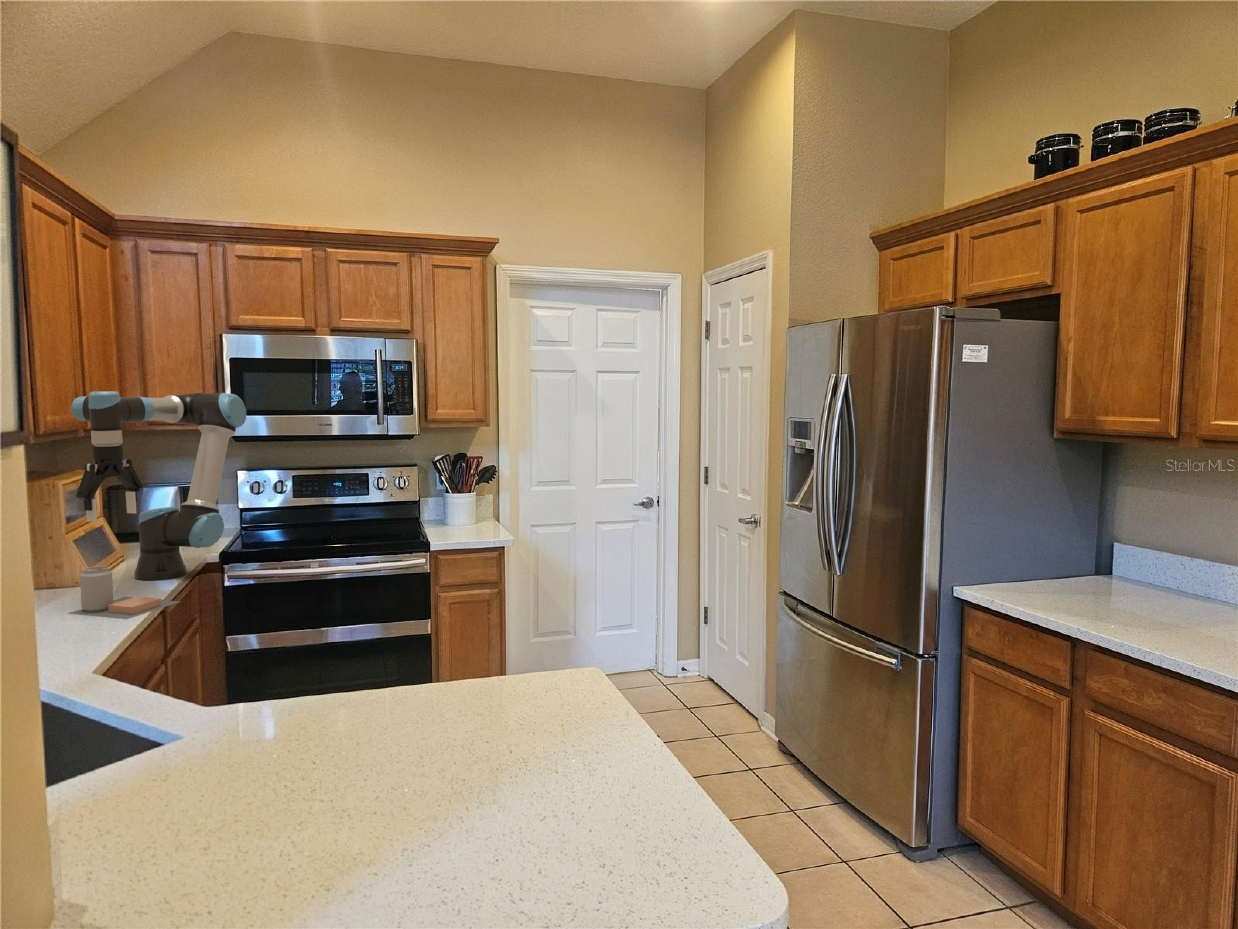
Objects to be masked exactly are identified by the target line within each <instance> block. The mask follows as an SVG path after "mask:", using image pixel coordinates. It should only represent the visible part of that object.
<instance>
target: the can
mask: <svg viewBox="0 0 1238 929" xmlns="http://www.w3.org/2000/svg"><path fill="white" fill-rule="evenodd" d="M79 576H80V579H79V580H80V599H81V603H80V604H81V609H83V610H85V611H86V612H100V611H105V610H108V605H110V604H113V600H114V585H113V584H114V583H113V571H111V570H110V566H107V565H97V566H96V565H95V566H89V567H85V568H83V569H82V572H81V573H80V575H79Z"/></svg>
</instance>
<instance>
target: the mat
mask: <svg viewBox="0 0 1238 929" xmlns="http://www.w3.org/2000/svg"><path fill="white" fill-rule="evenodd" d="M131 598H134V597H133V596H132V597H131V596H130V597H129V596H124V597H119V598H117V599H113V603H117V602H120V601H124V600H127V599H131ZM178 603H180V601H178V600H177V601H175V600H163V599H161V605H160V606H158V607H155V608H152V609H148V610H145V611H142V612H139V613H136V614H132V615H131V614H121V613H110V612H108V610H105V611H100V612H86V611H85V610H83V609H82V608H81V609H76V610H73V611H70V612H67V613H66V614H68V615H78V616H89V617H90V616H91V617H98V618H99V617H100V618H108V619H109V618H110V619H121V620H128V619H131V618H132V619H133V618H135V617H138V616H141V615H144V614H147V613H151V612H154V611H157V610H159V609H160V610H161V609H164V608H167V607H168V606H170V607H171V606H172V605H175V604H178Z"/></svg>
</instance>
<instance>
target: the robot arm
mask: <svg viewBox="0 0 1238 929" xmlns="http://www.w3.org/2000/svg"><path fill="white" fill-rule="evenodd" d="M70 409H71V414H72V416H73V417H74V418H75V419H76V420H78V421H81V422H82V421H83V422H89V423H90V436H91V444H92V447H91V451H92V452H91V453H92V454H91V455H92V458H93V459H94V463H85V464H84V467H83V468H84V471H83V475H82V478H81V480H80V484H79V486H78V489H77V492H76V494H75V498H79V499H81V500H83V506H84V508H83V509H84V511H86V512H85V514H86V522H89V523H97V522H98V513H97V499H96V498H94V497H95V495H96V493H97V492H98V490H99V488H100V487H101V485H102V484H103V481H105V480H106V479H107V478H112V477H116V479H117V480H118V481H119V482H120V483H121V484H122V485H123V486H124V487H125V489H126V490H127V491H125V501H126V502H125V504H126V506H125V507H126V513H127V514H137V501H138V496H137V495H138V494H137V492H140V490H141V489H142V488H143V484H142V482H141V480H140V478H139V476H138V474H137V472H136V470H135V469H134V467H133V461H132V459H131V458H124V445H122V444H123V428H122V427H123V426H122V425H123V424H126V423H127V424H128V423H142V422H147V421H164V422H166V423H168V424H182V425H188V426H194V427H195V426H196V427H197V429H198V430H199V431H200V433H201V435H200V441H199V443H198V444H199V445H198V449H197V454H196V459H195V463H194V468H193V472H192V477H191V482H190V486H189V491H188V495H187V500H186V501H185V502H182V503H181V505H180V508H179V507H178V506H167V507H160V508H159V507H158V508H152V509H151V508H150V509H146V510H143V511H141V512H140V513H139V515H138V534H139V535H138V537H139V538H138V540H139V557H138V560H137V564H136V568H135V570H134V579H136V580H140V581H159V580H160V581H161V580H168V579H175V578H179V577H183V576H184V575H186V574H187V565H186V564H185V563H184V560H183V556H182V554H181V551H180V549H181V547H188V548H191V547H192V548H195V549H199V548H209V547H212V546H214V545H215V544H216V543H218V541H220V539H221V537H222V535H223V532H224V529H225V522H224V518H223V516H222V515H221V514H219V513H220V509H219V508H218V506H217V498H218V494H219V489H220V485H221V484H220V483H221V479H222V475H223V469H224V464H225V460H226V455H227V451H228V445H229V442H230V440H229V439H230V438H232V437H233V436H235V434H236V431H237V430H236V429H237V428H240V427H243V425H244V424H245V422H246V421H247V420H246V419H247V408H246V406H245V404H244V401H243V400H242V399H241V397H240V396H238V395H237V394H235V393H227V392H194V393H193V392H192V393H184V394H167V395H165V396H163V397H144V396H129V397H128V396H120V393H119V392H118V391H114V390H113V391H111V390H110V391H105V390H104V391H91V392H89V394H88V395H86V396H78V397H76V398H75V399H73V401H72V404H71V408H70Z"/></svg>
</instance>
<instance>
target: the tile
mask: <svg viewBox="0 0 1238 929" xmlns="http://www.w3.org/2000/svg"><path fill="white" fill-rule="evenodd" d="M161 600H162V597H148V596H139V595H138V596H135V597H133V598H131V599H127V600H124V601H120V602H117V603H113V604H110V605H108V612H110V613H121V614H131V615H132V614H136V613H139V612H142V611H145V610H148V609H152V608H155V607H158V606H160V605H161Z"/></svg>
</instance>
